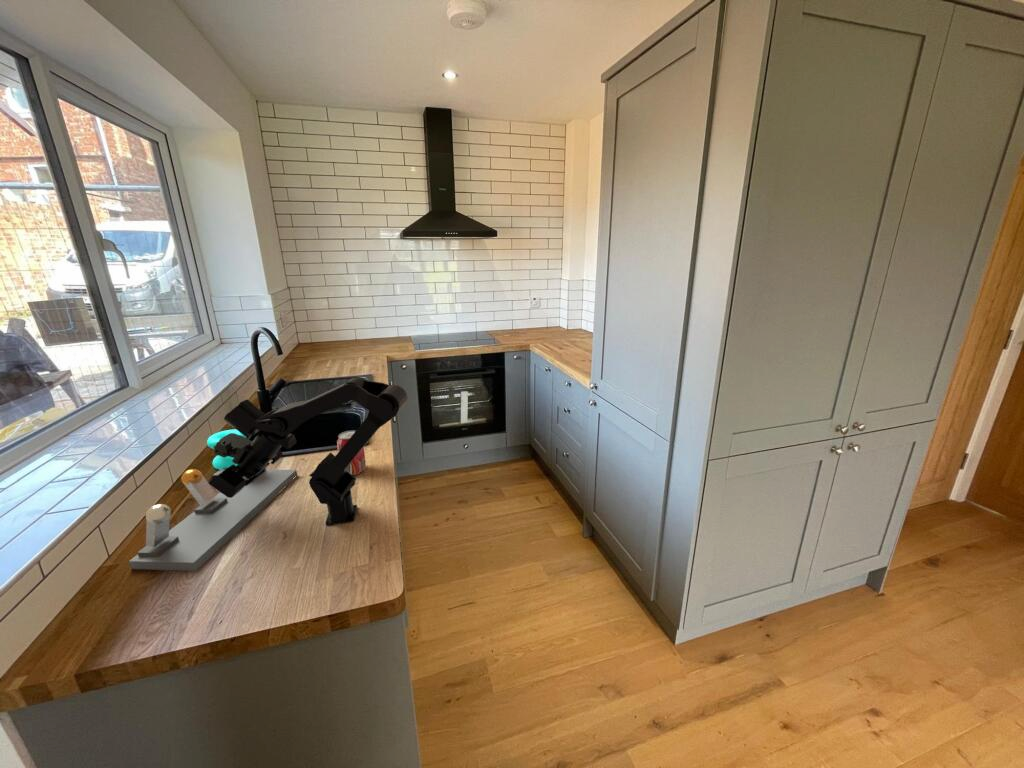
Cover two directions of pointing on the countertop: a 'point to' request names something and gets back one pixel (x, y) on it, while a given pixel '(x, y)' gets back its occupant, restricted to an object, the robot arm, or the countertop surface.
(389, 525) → the countertop surface
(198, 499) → the orange lever
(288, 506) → the countertop surface
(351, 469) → the soda can
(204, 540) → the switch panel
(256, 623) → the countertop surface
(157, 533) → the cream lever
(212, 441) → the donuts
